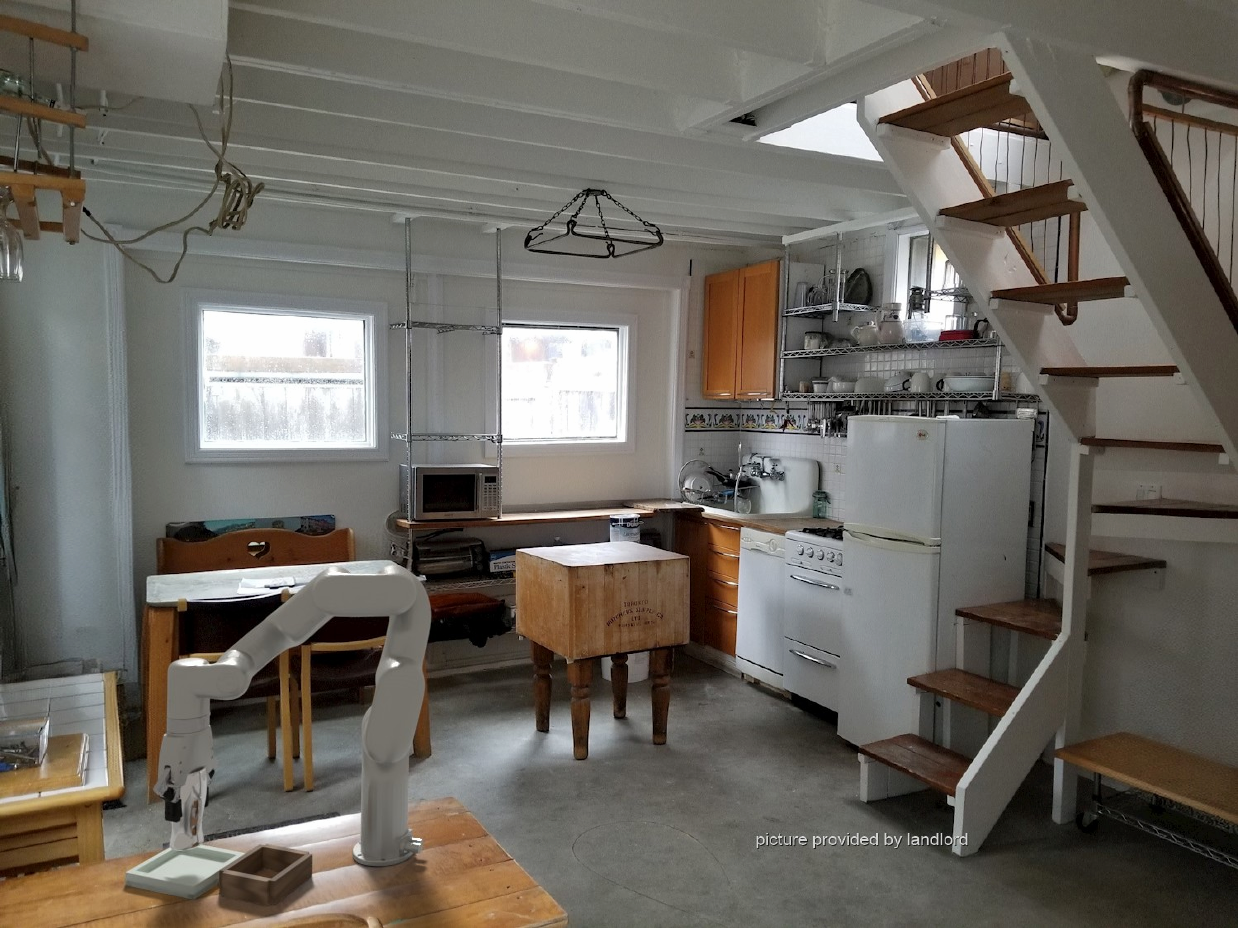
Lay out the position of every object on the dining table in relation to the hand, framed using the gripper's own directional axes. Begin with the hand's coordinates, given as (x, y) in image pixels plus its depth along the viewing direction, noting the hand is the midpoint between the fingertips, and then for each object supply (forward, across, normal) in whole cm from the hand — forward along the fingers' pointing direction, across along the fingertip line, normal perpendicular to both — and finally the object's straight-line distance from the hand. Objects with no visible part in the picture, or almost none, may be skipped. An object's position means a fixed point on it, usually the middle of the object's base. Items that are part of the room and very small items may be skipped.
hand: (187, 812), depth 173 cm
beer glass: (+6, 0, 0) cm, 6 cm away
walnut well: (+12, -2, +17) cm, 21 cm away
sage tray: (+12, 0, 0) cm, 12 cm away
